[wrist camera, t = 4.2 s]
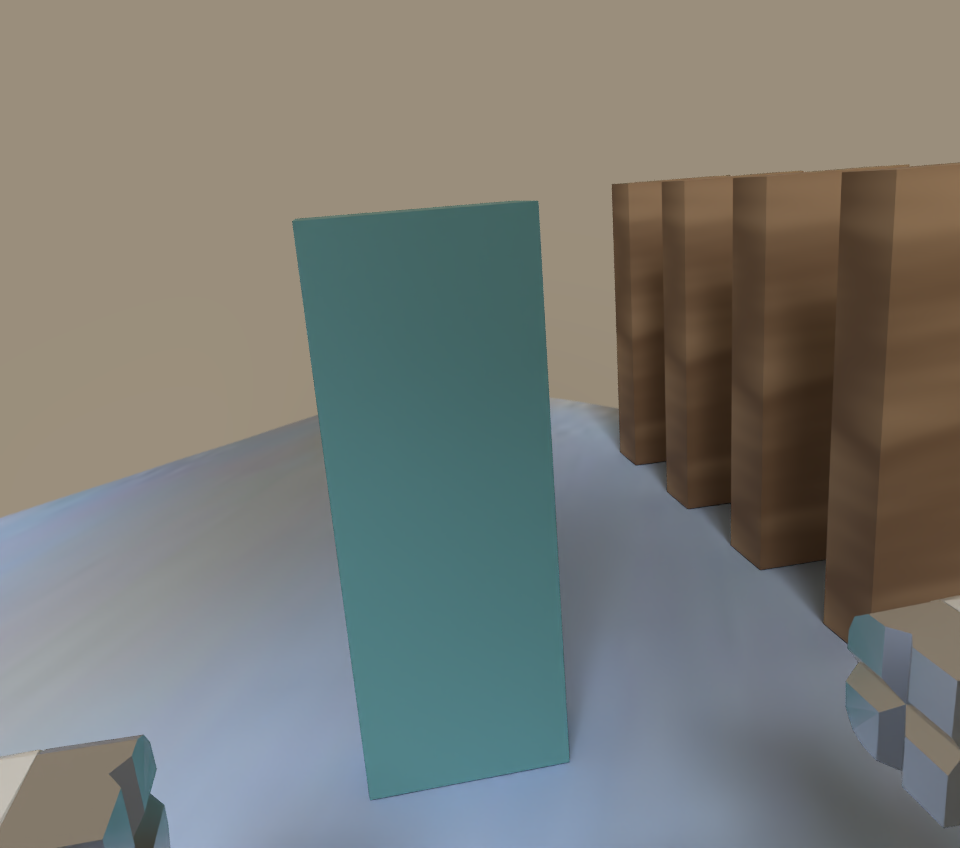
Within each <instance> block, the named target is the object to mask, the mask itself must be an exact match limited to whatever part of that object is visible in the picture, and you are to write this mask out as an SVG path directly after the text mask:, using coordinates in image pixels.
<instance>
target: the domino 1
mask: <svg viewBox="0 0 960 848" xmlns="http://www.w3.org/2000/svg"><path fill="white" fill-rule="evenodd" d="M292 223H293V230H294V238H295V246H296V253H297V260H298V268H299V275H300V282H301V290H302V297H303V305H304V312H305V320H306V328H307V335H308V342H309V350H310V357H311V365H312V372H313V380H314V387H315V394H316V402H317V409H318V417H319V424H320V432H321V439H322V447H323V454H324V462H325V469H326V477H327V484H328V492H329V499H330V506H331V514H332V521H333V529H334V536H335V544H336V551H337V559H338V566H339V574H340V581H341V588H342V596H343V603H344V611H345V618H346V626H347V633H348V641H349V648H350V655H351V663H352V670H353V678H354V685H355V693H356V700H357V708H358V715H359V723H360V730H361V737H362V745H363V752H364V760H365V767H366V775H367V782H368V790H369V797H370V800H374V799H379V798H384V797H390V796H395V795H400V794H405V793H410V792H416V791H421V790H426V789H431V788H437V787H442V786H447V785H452V784H457V783H463V782H468V781H473V780H478V779H484V778H489V777H494V776H499V775H505V774H510V773H515V772H520V771H525V770H531V769H536V768H541V767H546V766H552V765H557V764H562V763H567V762H569V744H568V726H567V708H566V690H565V672H564V654H563V636H562V618H561V600H560V582H559V564H558V546H557V529H556V511H555V493H554V475H553V457H552V439H551V421H550V403H549V385H548V369H547V349H546V331H545V313H544V297H543V296H544V295H543V277H542V259H541V242H540V223H539V205H538V201H506V202H494V203H481V204H469V205H457V206H445V207H433V208H421V209H409V210H396V211H385V212H372V213H361V214H348V215H336V216H325V217H313V218H300V219H295V220H293V221H292Z"/></svg>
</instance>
